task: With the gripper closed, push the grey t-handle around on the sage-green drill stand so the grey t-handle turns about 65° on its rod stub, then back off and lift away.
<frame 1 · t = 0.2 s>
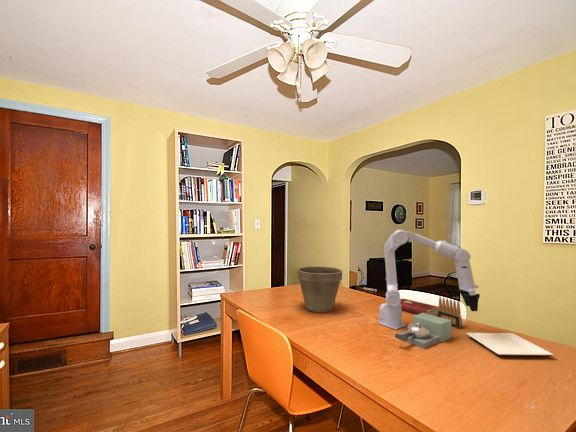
hand: (471, 308, 118), 11 cm above the table, tool pointing down, fingers open, 7 cm apart
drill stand: (418, 340, 112), on the table
plant pot: (319, 308, 155), on the table
grey t-handle: (412, 331, 109), point 5 cm above the table, hinge at 0.0°
ammunition clip: (449, 325, 129), on the table
hardcover book: (414, 312, 150), on the table
plate: (506, 348, 105), on the table
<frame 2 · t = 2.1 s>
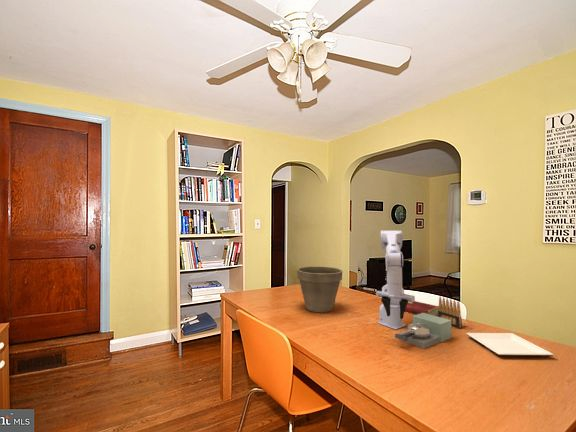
hand: (395, 316, 112), 9 cm above the table, tool pointing down, fingers open, 4 cm apart
nothing on the table moved.
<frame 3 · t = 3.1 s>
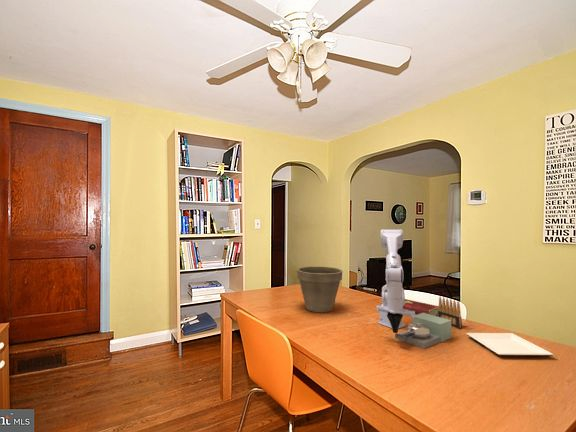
hand: (395, 332, 111), 3 cm above the table, tool pointing down, fingers closed
nothing on the table moved.
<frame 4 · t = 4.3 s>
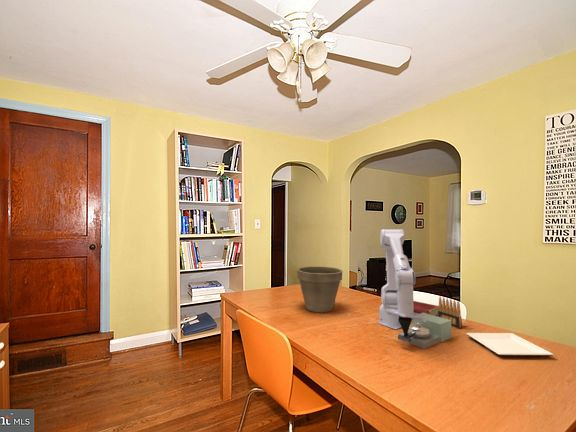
hand: (405, 336, 108), 3 cm above the table, tool pointing down, fingers closed
grey t-handle: (413, 331, 109), point 5 cm above the table, hinge at 6.4°, touching gripper
everything else where it was.
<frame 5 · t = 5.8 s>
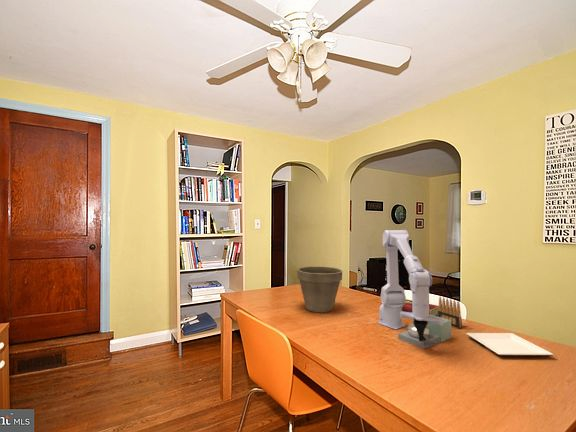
hand: (421, 340, 104), 3 cm above the table, tool pointing down, fingers closed, pressing on grey t-handle
grey t-handle: (422, 332, 108), point 5 cm above the table, hinge at 49.0°, touching gripper
everything else where it was.
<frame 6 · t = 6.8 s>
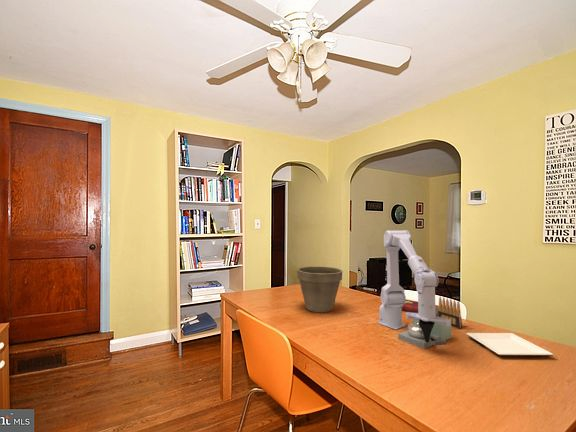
hand: (427, 341, 104), 3 cm above the table, tool pointing down, fingers closed
grey t-handle: (425, 332, 108), point 5 cm above the table, hinge at 66.9°, touching gripper
everything else where it was.
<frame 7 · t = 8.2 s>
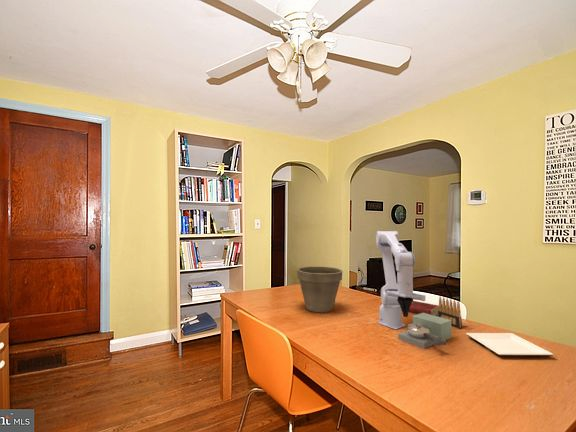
hand: (405, 316, 112), 9 cm above the table, tool pointing down, fingers closed
grey t-handle: (425, 332, 108), point 5 cm above the table, hinge at 67.0°
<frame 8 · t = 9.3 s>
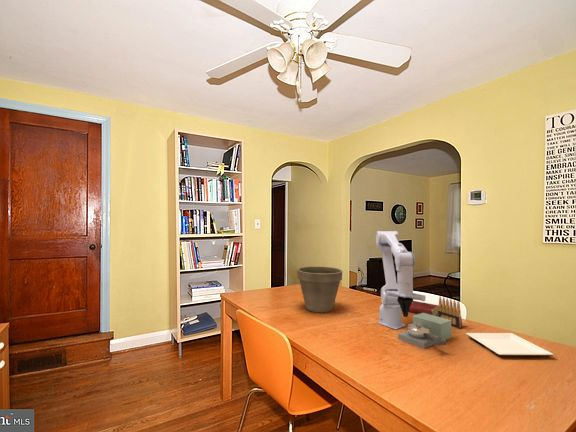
hand: (405, 316, 112), 9 cm above the table, tool pointing down, fingers closed
at the end: grey t-handle at +67° (first picture: +0°) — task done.
